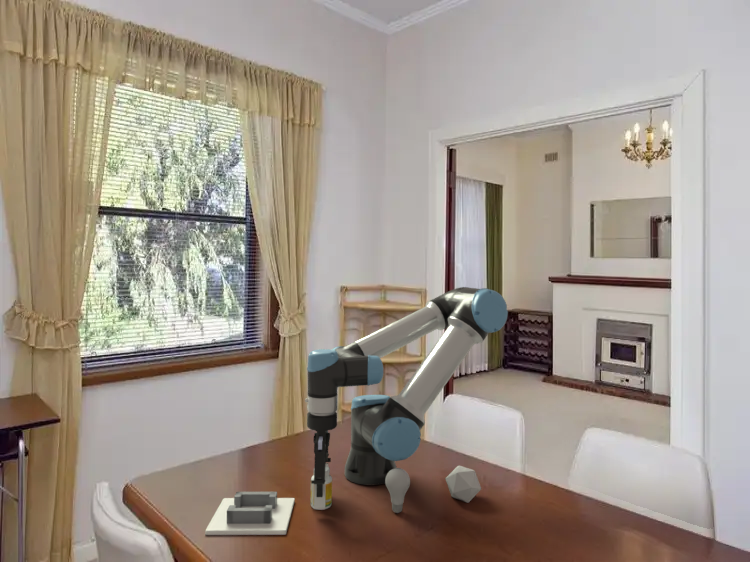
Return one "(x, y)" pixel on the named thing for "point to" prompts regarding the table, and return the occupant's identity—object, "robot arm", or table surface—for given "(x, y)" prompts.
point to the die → (463, 483)
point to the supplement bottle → (328, 489)
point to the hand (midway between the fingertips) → (321, 497)
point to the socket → (252, 515)
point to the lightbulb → (397, 487)
